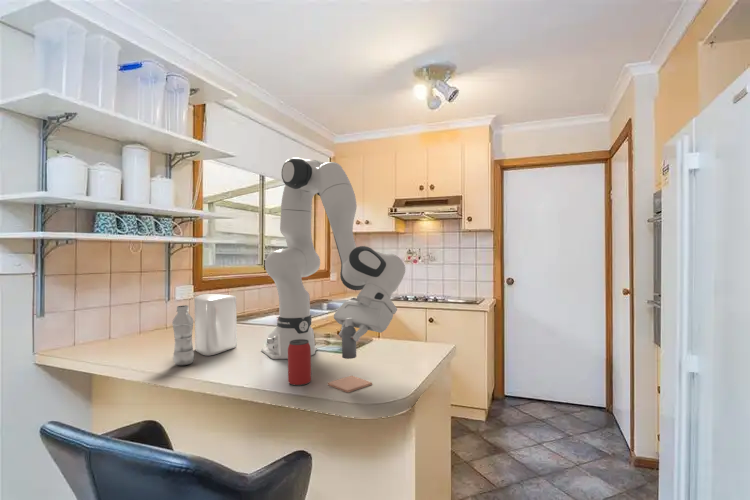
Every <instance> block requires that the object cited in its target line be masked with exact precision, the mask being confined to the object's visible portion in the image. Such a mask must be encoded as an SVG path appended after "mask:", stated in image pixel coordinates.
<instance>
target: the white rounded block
mask: <svg viewBox="0 0 750 500" xmlns="http://www.w3.org/2000/svg"><path fill="white" fill-rule="evenodd" d="M237 326H238V325H237V296H236V295H230V294H224V293H223V294H222V293H220V294H219V293H204V294H200V295H196V296H195V297H194V340H195V341H194V344H195V346H194V349H195V350H194V351H196V352H197V353H198V354H201V355H203V356H208V357H209V356H213V355H217V354H221V353H224V352H226V351H229V350H231V349H234V348H236V347H237V346H238V338H237V335H238V333H237V331H238V329H237Z"/></svg>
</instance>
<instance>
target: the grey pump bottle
mask: <svg viewBox="0 0 750 500" xmlns="http://www.w3.org/2000/svg"><path fill="white" fill-rule="evenodd" d="M353 332H354V333H355V332H357V330H356V327H353V326H352V318H346V319H345V327H344V328H343V330H342V338H341V349H342V350H341V355H342V356H341V357H342V358H343V359H346V360H347V359H348V360H349V359H350V360H351V359H355V358H357V341H353V340H352V339H351V335H352V334H353Z"/></svg>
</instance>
